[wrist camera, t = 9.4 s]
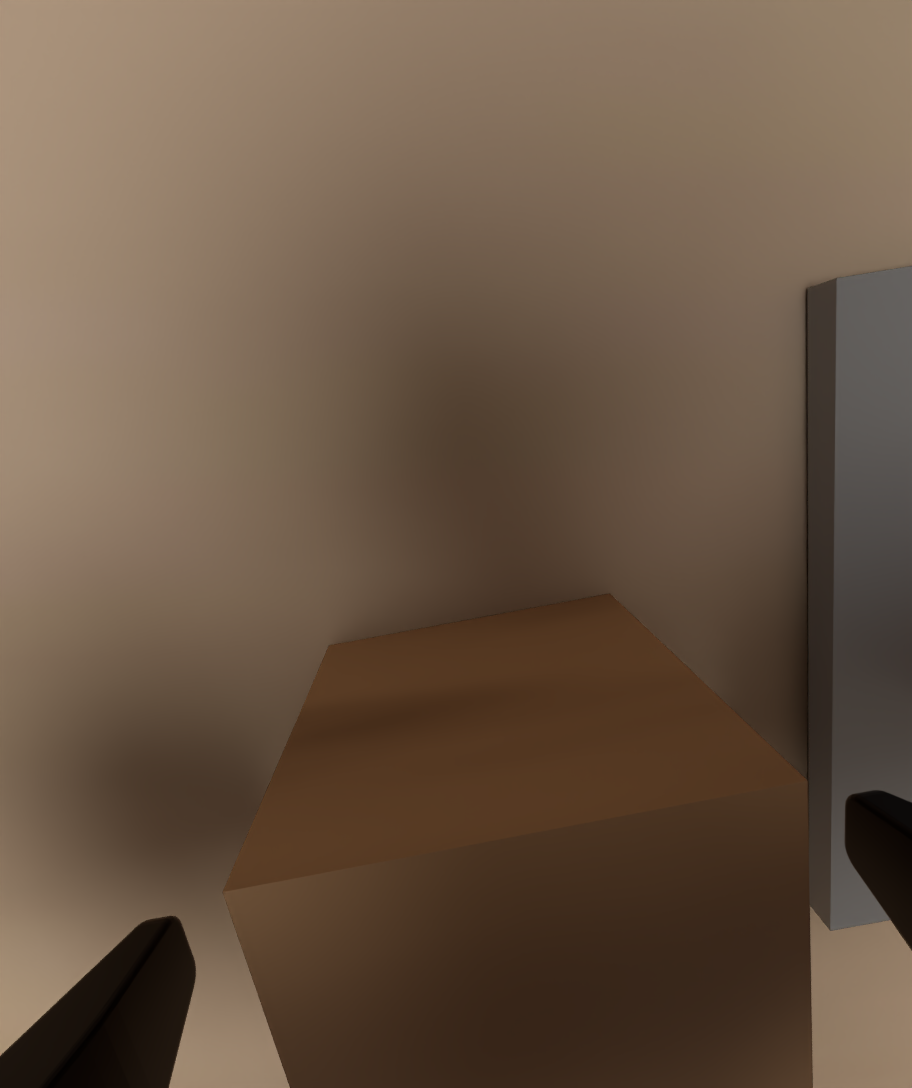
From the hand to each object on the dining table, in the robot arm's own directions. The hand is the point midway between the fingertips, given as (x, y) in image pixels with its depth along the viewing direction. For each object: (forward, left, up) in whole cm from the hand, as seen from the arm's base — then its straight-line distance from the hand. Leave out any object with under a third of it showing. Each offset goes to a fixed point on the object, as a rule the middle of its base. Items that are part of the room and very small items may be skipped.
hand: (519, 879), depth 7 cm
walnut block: (0, 0, -3) cm, 3 cm away
